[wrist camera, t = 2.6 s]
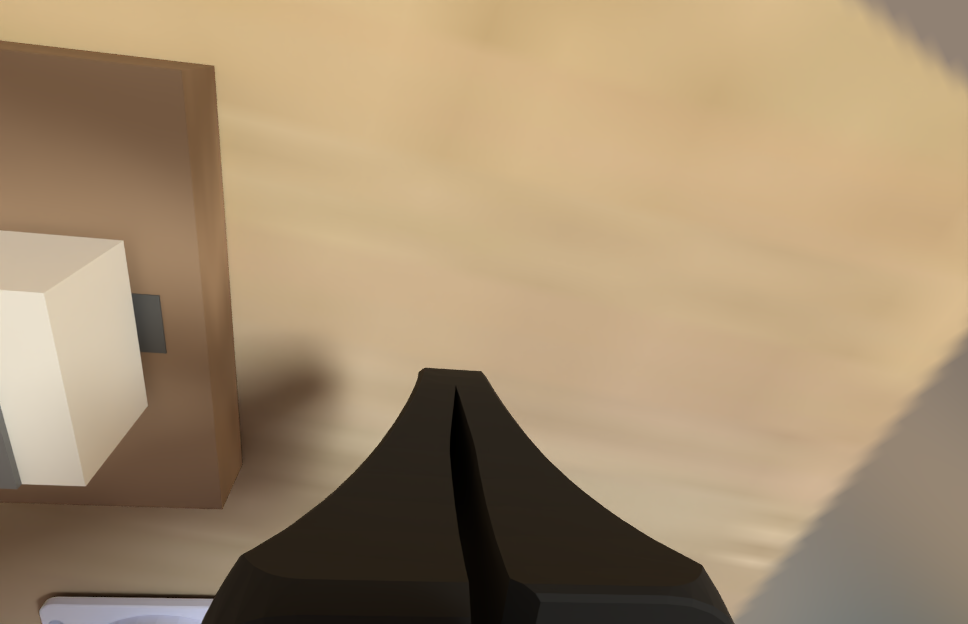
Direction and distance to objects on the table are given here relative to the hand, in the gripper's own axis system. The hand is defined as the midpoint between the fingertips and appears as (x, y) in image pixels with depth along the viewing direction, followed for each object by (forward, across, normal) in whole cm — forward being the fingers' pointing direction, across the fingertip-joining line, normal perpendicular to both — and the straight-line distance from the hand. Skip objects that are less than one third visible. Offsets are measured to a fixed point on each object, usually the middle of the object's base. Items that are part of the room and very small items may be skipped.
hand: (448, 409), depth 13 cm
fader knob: (+3, +9, 0) cm, 10 cm away
